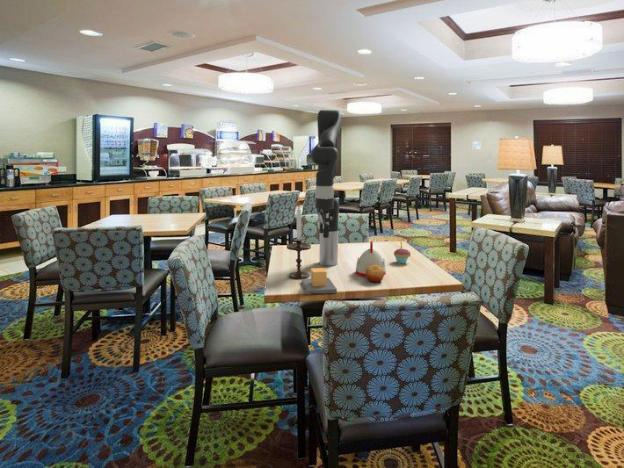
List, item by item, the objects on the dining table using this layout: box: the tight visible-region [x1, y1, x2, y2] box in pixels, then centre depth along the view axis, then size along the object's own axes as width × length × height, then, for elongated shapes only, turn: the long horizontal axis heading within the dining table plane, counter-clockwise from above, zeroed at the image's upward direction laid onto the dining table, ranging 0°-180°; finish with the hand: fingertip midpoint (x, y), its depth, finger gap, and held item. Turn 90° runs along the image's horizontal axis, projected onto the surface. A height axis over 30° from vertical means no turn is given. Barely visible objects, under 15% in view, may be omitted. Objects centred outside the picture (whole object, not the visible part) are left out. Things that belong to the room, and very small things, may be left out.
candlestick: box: [286, 199, 312, 280], centre depth 193 cm, size 11×11×35 cm
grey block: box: [301, 277, 338, 294], centre depth 181 cm, size 16×12×6 cm
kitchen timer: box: [355, 241, 387, 278], centre depth 201 cm, size 14×14×15 cm
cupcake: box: [393, 239, 412, 264], centre depth 221 cm, size 9×8×12 cm
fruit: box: [366, 265, 385, 283], centre depth 190 cm, size 8×8×8 cm
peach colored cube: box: [310, 267, 328, 286], centre depth 180 cm, size 6×6×6 cm
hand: (324, 235), depth 180 cm, fingers open, 8 cm apart
